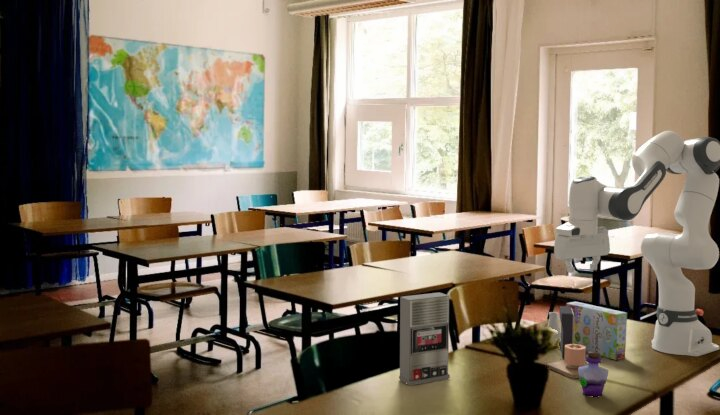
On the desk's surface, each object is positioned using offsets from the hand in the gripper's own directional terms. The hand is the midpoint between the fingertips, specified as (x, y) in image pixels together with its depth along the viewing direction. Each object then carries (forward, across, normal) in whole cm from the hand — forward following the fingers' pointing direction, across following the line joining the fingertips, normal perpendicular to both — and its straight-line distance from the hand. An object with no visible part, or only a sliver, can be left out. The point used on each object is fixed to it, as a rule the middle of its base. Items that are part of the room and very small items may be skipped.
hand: (582, 271), depth 243 cm
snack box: (+29, -10, -4) cm, 31 cm away
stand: (+28, +10, +9) cm, 31 cm away
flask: (+29, -6, -20) cm, 36 cm away
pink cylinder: (+26, +10, +9) cm, 29 cm away
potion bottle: (+28, +21, +28) cm, 45 cm away
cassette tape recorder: (+28, +56, -3) cm, 63 cm away
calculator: (+29, +1, -5) cm, 29 cm away
